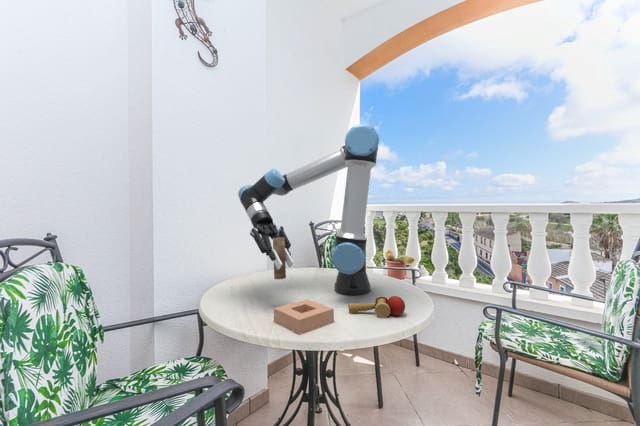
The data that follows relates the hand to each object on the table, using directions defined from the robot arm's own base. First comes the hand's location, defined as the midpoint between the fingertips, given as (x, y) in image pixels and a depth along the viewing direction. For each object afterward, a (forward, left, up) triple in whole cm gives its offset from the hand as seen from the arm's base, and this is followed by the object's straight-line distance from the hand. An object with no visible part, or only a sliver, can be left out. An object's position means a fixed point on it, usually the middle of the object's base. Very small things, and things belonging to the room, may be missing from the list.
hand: (285, 265), depth 98 cm
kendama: (-20, +23, -16) cm, 34 cm away
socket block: (+2, +12, -15) cm, 19 cm away
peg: (0, -4, -5) cm, 6 cm away
